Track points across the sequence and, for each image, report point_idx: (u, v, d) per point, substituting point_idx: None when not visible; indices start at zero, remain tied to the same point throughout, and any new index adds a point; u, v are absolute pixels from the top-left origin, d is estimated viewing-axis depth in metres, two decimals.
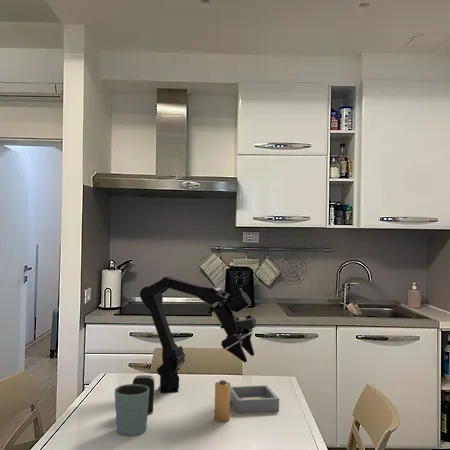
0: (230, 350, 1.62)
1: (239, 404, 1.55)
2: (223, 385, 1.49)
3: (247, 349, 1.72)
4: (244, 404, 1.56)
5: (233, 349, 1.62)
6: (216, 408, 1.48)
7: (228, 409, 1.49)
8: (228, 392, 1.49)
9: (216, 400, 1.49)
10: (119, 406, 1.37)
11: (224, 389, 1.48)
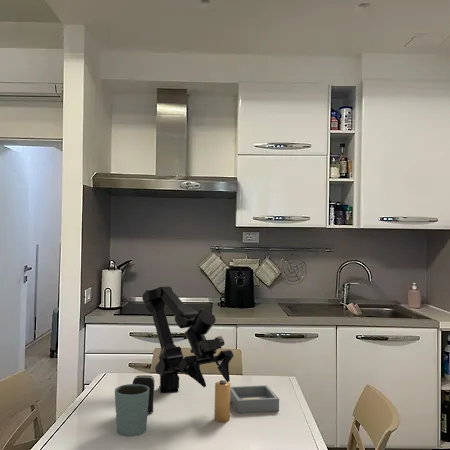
0: (190, 374, 1.53)
1: (239, 404, 1.55)
2: (223, 385, 1.49)
3: (224, 375, 1.57)
4: (244, 404, 1.56)
5: (193, 373, 1.53)
6: (216, 408, 1.48)
7: (228, 409, 1.49)
8: (228, 392, 1.49)
9: (216, 400, 1.49)
10: (119, 406, 1.37)
11: (224, 389, 1.48)
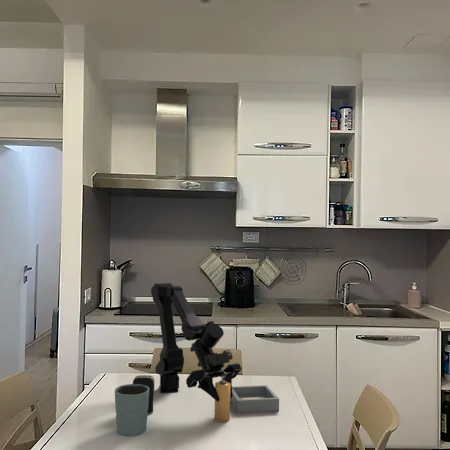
0: (203, 388, 1.51)
1: (239, 404, 1.55)
2: (223, 385, 1.49)
3: None
4: (244, 404, 1.56)
5: (205, 386, 1.50)
6: (216, 408, 1.48)
7: (228, 409, 1.49)
8: (228, 392, 1.49)
9: None
10: (119, 406, 1.37)
11: (224, 389, 1.48)
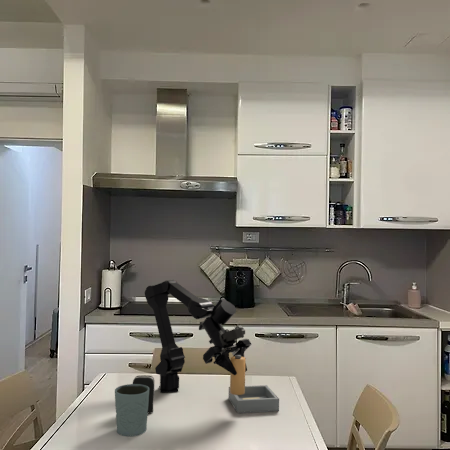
0: (218, 363, 1.54)
1: (239, 404, 1.55)
2: (239, 359, 1.53)
3: None
4: (244, 404, 1.56)
5: (221, 362, 1.54)
6: (233, 382, 1.53)
7: (244, 382, 1.54)
8: (244, 366, 1.53)
9: None
10: (119, 406, 1.37)
11: (241, 362, 1.52)
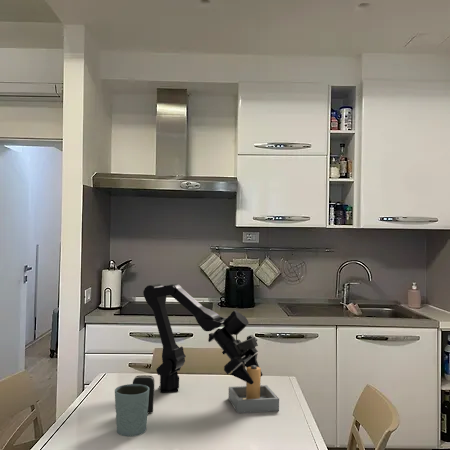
0: (234, 374, 1.59)
1: (239, 404, 1.55)
2: (256, 369, 1.62)
3: None
4: (244, 404, 1.56)
5: (237, 373, 1.59)
6: (251, 391, 1.61)
7: None
8: (260, 375, 1.63)
9: (251, 384, 1.61)
10: (119, 406, 1.37)
11: (258, 372, 1.62)
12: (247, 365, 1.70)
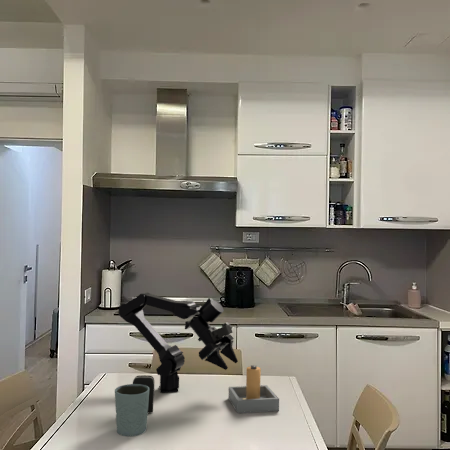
0: (209, 360, 1.63)
1: (239, 404, 1.55)
2: (256, 369, 1.62)
3: (230, 357, 1.72)
4: (244, 404, 1.56)
5: (212, 358, 1.63)
6: (251, 392, 1.61)
7: None
8: (260, 375, 1.63)
9: (251, 384, 1.61)
10: (119, 406, 1.37)
11: (258, 372, 1.62)
12: (223, 352, 1.74)
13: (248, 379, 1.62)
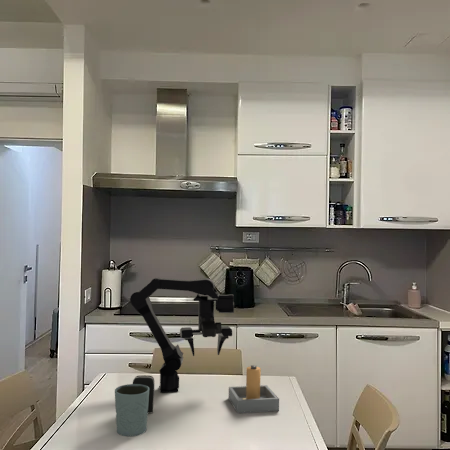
0: None
1: (239, 404, 1.55)
2: (256, 369, 1.62)
3: (217, 346, 1.78)
4: (244, 404, 1.56)
5: None
6: (251, 392, 1.61)
7: None
8: (260, 375, 1.63)
9: (251, 384, 1.61)
10: (119, 406, 1.37)
11: (258, 372, 1.62)
12: (218, 337, 1.79)
13: (248, 379, 1.62)
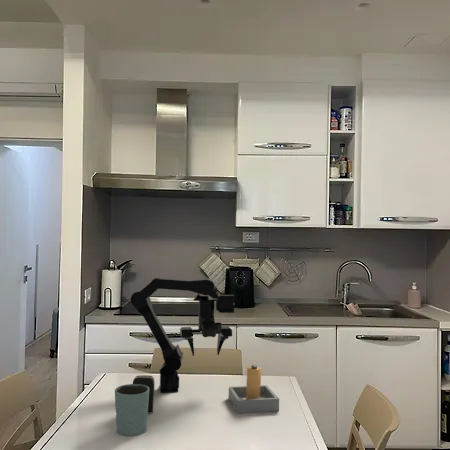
0: None
1: (239, 404, 1.55)
2: (257, 369, 1.62)
3: (217, 346, 1.78)
4: (244, 404, 1.56)
5: None
6: (251, 391, 1.61)
7: None
8: (260, 375, 1.63)
9: (251, 384, 1.61)
10: (119, 406, 1.37)
11: (259, 372, 1.62)
12: (218, 337, 1.79)
13: (249, 379, 1.62)
